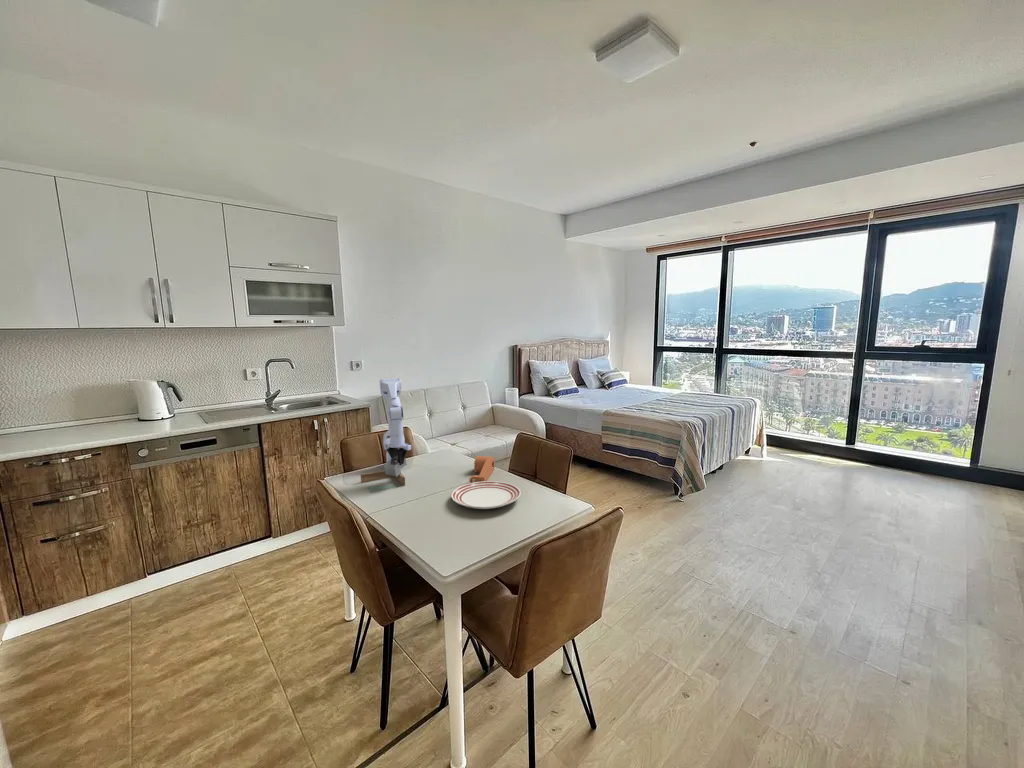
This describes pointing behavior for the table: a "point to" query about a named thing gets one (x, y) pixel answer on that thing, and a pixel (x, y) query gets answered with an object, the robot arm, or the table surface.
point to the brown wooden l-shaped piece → (380, 477)
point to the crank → (483, 468)
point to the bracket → (393, 466)
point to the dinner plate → (486, 494)
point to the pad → (381, 488)
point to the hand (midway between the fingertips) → (398, 463)
